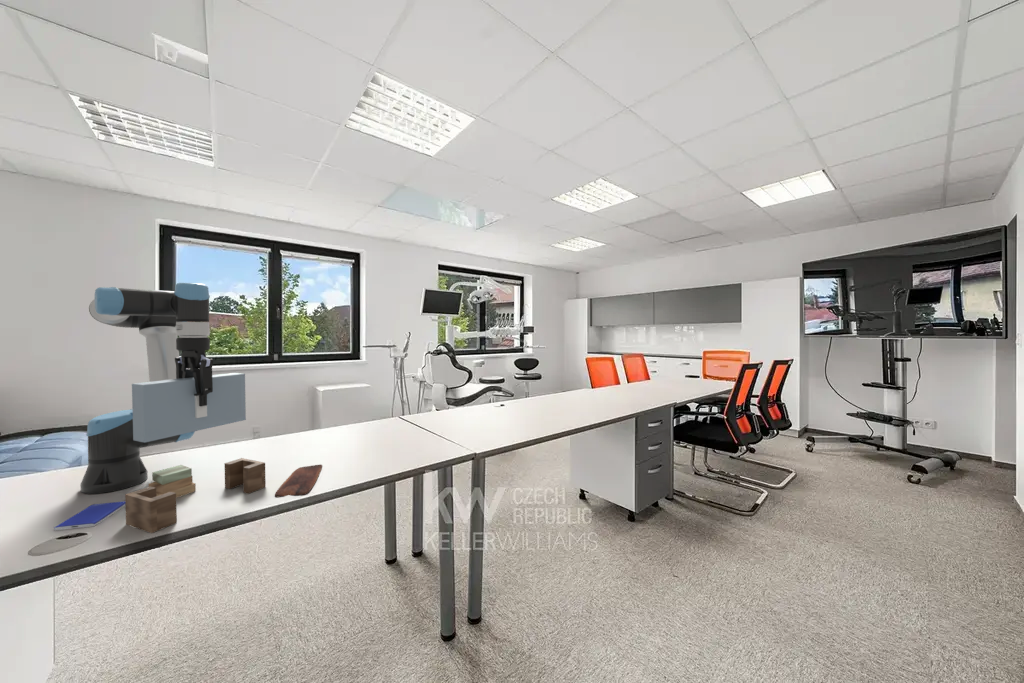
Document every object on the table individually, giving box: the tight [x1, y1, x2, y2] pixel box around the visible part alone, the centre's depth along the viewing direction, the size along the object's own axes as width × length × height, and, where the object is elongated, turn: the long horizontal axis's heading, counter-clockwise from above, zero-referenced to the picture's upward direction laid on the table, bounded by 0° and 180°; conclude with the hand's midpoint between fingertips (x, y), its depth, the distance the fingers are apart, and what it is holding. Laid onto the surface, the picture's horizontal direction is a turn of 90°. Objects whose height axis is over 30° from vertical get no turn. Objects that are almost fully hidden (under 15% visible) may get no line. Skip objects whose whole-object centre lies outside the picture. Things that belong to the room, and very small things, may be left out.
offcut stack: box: [148, 464, 197, 499], centre depth 117 cm, size 8×9×8 cm
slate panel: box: [131, 372, 247, 443], centre depth 112 cm, size 5×26×15 cm, turn 159°
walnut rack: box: [124, 457, 266, 534], centre depth 112 cm, size 11×30×8 cm, turn 159°
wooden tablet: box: [274, 464, 323, 498], centre depth 130 cm, size 26×2×10 cm
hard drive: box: [53, 500, 126, 531], centre depth 104 cm, size 2×8×12 cm
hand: (194, 415), depth 112 cm, fingers closed on slate panel, 5 cm apart
